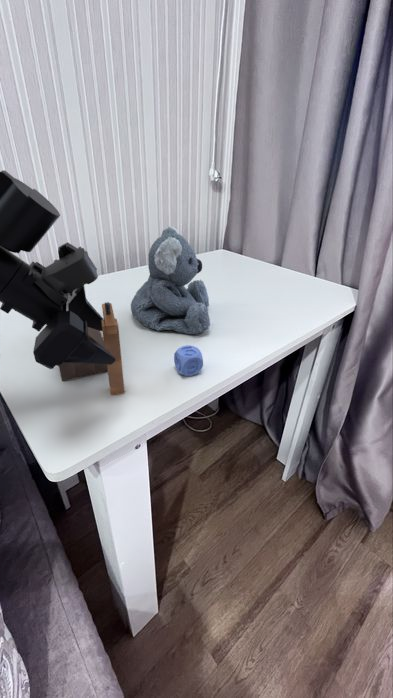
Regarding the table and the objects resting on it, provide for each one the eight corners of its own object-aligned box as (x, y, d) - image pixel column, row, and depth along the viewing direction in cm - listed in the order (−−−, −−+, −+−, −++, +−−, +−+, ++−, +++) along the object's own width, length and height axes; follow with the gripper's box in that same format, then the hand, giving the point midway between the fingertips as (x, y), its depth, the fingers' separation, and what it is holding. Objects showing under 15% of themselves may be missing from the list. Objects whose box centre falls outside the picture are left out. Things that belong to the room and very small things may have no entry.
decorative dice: (193, 361, 62) (194, 343, 60) (202, 373, 59) (204, 354, 57) (173, 365, 60) (173, 347, 58) (181, 378, 57) (182, 359, 55)
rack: (62, 381, 55) (56, 359, 53) (53, 329, 70) (48, 309, 67) (110, 371, 58) (107, 349, 56) (92, 323, 73) (89, 304, 70)
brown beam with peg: (112, 405, 51) (100, 315, 43) (108, 378, 57) (97, 293, 48) (126, 402, 52) (118, 313, 43) (121, 376, 57) (113, 292, 49)
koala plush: (210, 338, 69) (217, 243, 59) (124, 335, 69) (115, 239, 58) (208, 303, 84) (213, 222, 73) (137, 300, 83) (131, 219, 73)
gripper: (43, 252, 31) (160, 338, 40) (53, 213, 46) (137, 282, 55) (-24, 334, 34) (101, 398, 42) (6, 271, 48) (94, 329, 57)
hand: (110, 344), depth 49 cm, fingers open, 9 cm apart
